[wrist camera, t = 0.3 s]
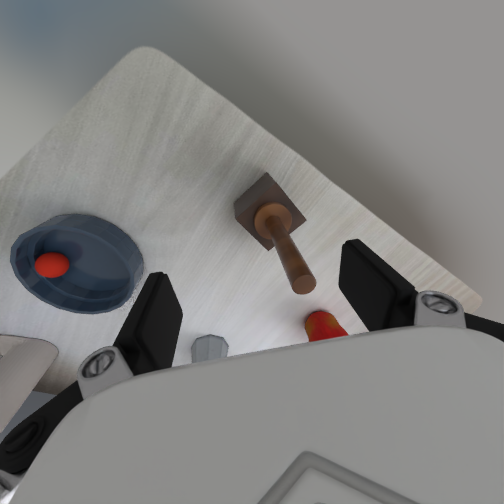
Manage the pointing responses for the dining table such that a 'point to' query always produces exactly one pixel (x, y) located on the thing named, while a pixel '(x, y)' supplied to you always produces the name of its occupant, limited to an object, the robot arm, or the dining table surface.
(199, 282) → the dining table surface
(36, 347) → the candle
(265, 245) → the rest
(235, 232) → the dining table surface
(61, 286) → the bowl
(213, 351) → the coffee maker
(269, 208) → the wooden plunger
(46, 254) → the ball
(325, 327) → the apple
